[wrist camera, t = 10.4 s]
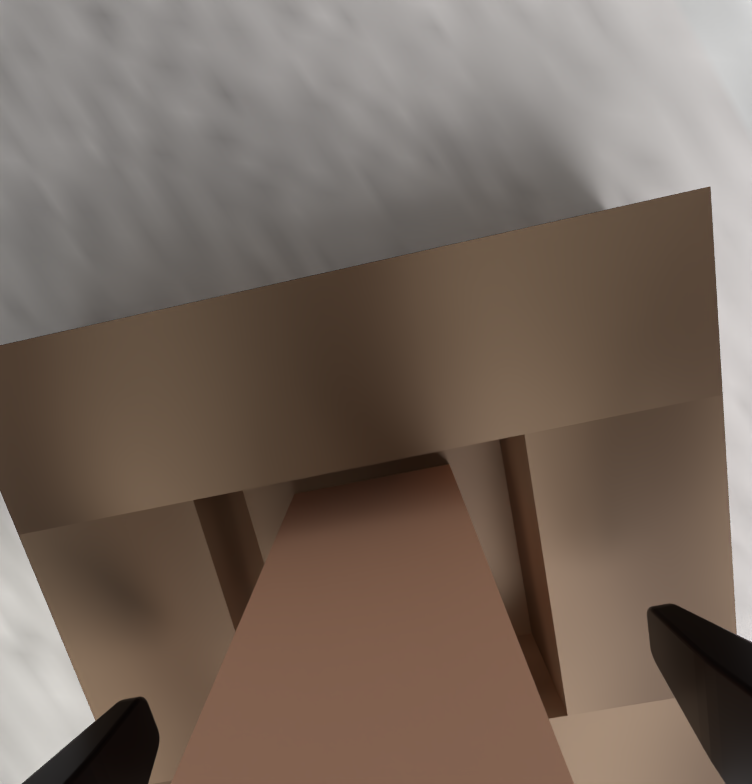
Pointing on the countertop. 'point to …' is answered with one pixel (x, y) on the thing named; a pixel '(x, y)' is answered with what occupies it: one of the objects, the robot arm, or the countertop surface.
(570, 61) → the countertop surface
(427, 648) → the terracotta peg
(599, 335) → the walnut socket block
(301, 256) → the countertop surface
